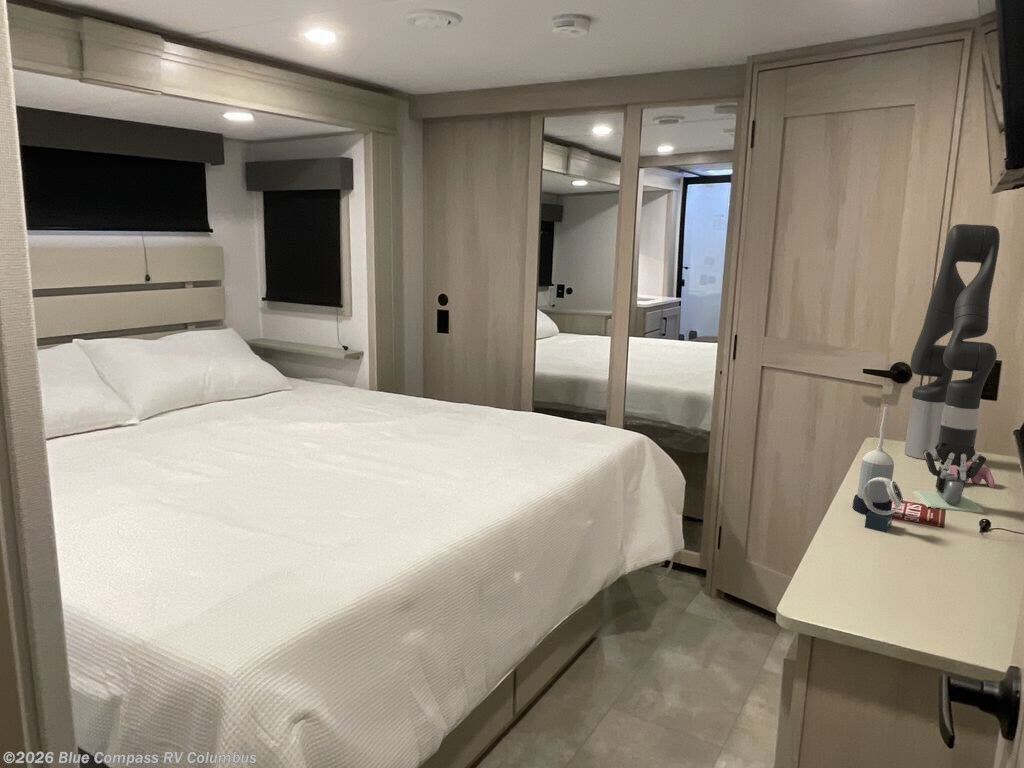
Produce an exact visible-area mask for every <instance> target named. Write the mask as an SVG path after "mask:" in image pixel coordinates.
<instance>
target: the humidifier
mask: <svg viewBox="0 0 1024 768" xmlns="http://www.w3.org/2000/svg"><path fill="white" fill-rule="evenodd" d="M888 408H889V407H886V406H883V412H882V418H881V419H882V420H881V423H880V424H881V425H880V427H879V441H878V444H877V447H876V449H875V448H873V450H871V451H869V452H866V453H865V454H864V455H863V457H862V460H861V464H860V471H859V478H858V479H859V480H858V487H857V494H854V497H853V499H852V509H853V511H855V512H856V513H859V514H860V515H864V516H866V514H867V513H868V511H869V510H870V509H868V508H867V506H866V504H865V502H864V499H863V496H862V492H863V488H864V486H865V485H866V484H867V483H868V482H869V481H870V480H871V479H873V478H877V477H884V478H888V479H890V480H891V481H893V477H894V476H893V474H894V466H895V465H894V464H895V463H894V462H895V461H894V459H893V457H892V456H891V455H890V454H889V453H888V452H886V451H884V449H883V445H884V442H885V441H884V440H885V427H886V423H887V416H888ZM877 410H878V411H877V413H879V411H880V407H878V409H877ZM878 418H879V415H877V417H876V426H875V427H874V430H876V429H877V426H878V423H879V422H878ZM875 440H876V437H874V439H873V443H875ZM867 491H868V494H869V498H870V500H871V502H872V503H873V507H874V508H878V509H882V510H887V511H891V510H893V509H892V507H893V504H892V503H893V501H892V500H891V498H890V497H889V494H888V491H887V486H886V485H885V482H883V481H874V482H871V483H869V484H868V485H867Z"/></svg>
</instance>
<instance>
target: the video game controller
mask: <svg viewBox="0 0 1024 768" xmlns="http://www.w3.org/2000/svg"><path fill="white" fill-rule="evenodd" d="M972 462H973V461H968V462H967V463H966V469H968V468H969V466H970V465H971V464H972ZM966 471H967V470H966ZM949 473H952V474H954V475H955V476H956V477H957V469H956V465H952V466H950V468H949ZM969 480H970V482H972V484H975V485H978V484H980V483H981V482H982V480H984V482H985V483H986V485H987V486H988V487H989V488H991V489H992V488H993V489H994V487H995V483H996V482H995V479H994V476H993V474H992V472H991V470H990V468H989V467H988V466H986V464H985V463H984V464H983V466H982V467H981V468H980V470H979V471H978V473H977V474H976V476H975V477H974V478H972V479H971V478H969V479H966V480H965V483H968V482H969ZM965 483H964V484H965Z"/></svg>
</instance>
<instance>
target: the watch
mask: <svg viewBox="0 0 1024 768" xmlns="http://www.w3.org/2000/svg"><path fill="white" fill-rule="evenodd" d="M874 481H883V482H885V485H886V486H887V491H888V494H889V497H890V498H889V499H890V500H891V502H892V503H893V504H894V506H895V508H894V509H891V511H887V510H882V509H878V508H874V507H873V503H872V502H871V500H870V498H869V494H868V491H867V485H868V484H869V483H871V482H874ZM862 496H863V499H864V502H865V504H866V506H867V508H868V509H870V510H869V511H868V513H867V514H866V515H865V521H864V522H865V523H864V528H866V529H869V530H874V531H879V532H881V533H882V532H883V533H887V531H888V530H889V529H890V527H891V526H892V523H893V522H892V521H893V516H894V514H895V512H896V511H897V510H898V509H899V508H900V506H901V504H902V503H903V502H904V498H903V494H902V491H901V488H900V487H899V485H898V483H896V481H893V480H892V481H891V480H890V479H888V478H884V477H877V478H873V479H871V480H870V481H869V482H868V483H867V484H866V485H865V486H864V488H863V492H862Z"/></svg>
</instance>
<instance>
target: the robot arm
mask: <svg viewBox="0 0 1024 768" xmlns="http://www.w3.org/2000/svg"><path fill="white" fill-rule="evenodd" d="M1000 238H1001V237H1000V230H999V229H998V227H997V226H995V225H988V224H970V223H969V224H968V223H967V224H966V223H965V224H964V223H962V224H960V223H959V224H954V225H953V226H952V227H951V228H950V230H949V232H948V234H947V237H946V241H945V246H944V250H943V254H942V260H941V262H940V269H939V272H938V275H937V279H936V282H935V286H934V288H933V291H932V294H931V296H930V300H929V303H928V306H927V310H926V314H925V318H924V322H923V325H922V329H921V331H920V334H919V335H918V338H917V341H916V343H915V346H914V349H913V351H912V353H911V357H910V358H911V359H910V369H911V372H912V373H913V375H917V376H923V377H924V376H925V377H933V378H936V379H935V380H934V381H932V382H930V383H927V384H924V385H919V386H918V385H917V386H916V387H914V388H913V390H912V392H911V393H912V395H911V400H910V401H911V402H910V409H909V418H908V423H907V424H908V425H907V432H906V437H905V444H904V445H905V446H904V451H903V453H904V455H906V456H909V457H911V458H914V459H915V458H916V459H920V460H925V463H926V465H927V468H928V471H929V472H930V473H931V474H932V476H935V477H936V476H937V481H935V482H936V483H935V489H936V491H937V490H938V491H939V492H940V493H943V492H944V485H945V477H946V474H947V473H948V471H950V467H951V466H952V465H956V469H957V478H959V479H960V480H961V481H962V482H963V483H964V484H963V490H962V493H963V492H964V487H965V480H966V479H969V480H971V479H972V478H974V477H975V476H976V474H977V473H978V471H979V470H980V468H981V467H982V466H983V464H985V463H986V461H987V457H985V456H984V455H983V454H981V453H980V454H979V453H977V452H976V450H975V444H976V440H977V439H976V438H977V431H978V427H979V421H980V420H979V419H980V404H981V398H982V393H983V389H984V385H985V383H986V381H987V379H988V377H989V375H990V373H991V371H992V369H993V368H994V367H995V363H996V361H997V357H998V355H997V354H998V353H997V350H996V348H995V346H994V345H993V344H991V343H989V342H985V341H984V342H981V341H967V340H969V339H975V338H980V337H982V336H984V335H986V334H987V333H988V329H989V311H990V296H991V291H992V287H993V283H994V277H995V271H996V268H997V267H996V266H997V261H998V255H999V249H1000V242H1001V241H1000ZM958 262H960V263H961V262H962V263H978V264H979V263H980V267H979V269H978V272H977V274H976V275H975V276H974V277H973V279H972V280H971V281H970V282H969V283H968V284H967V285H966V284H965V282H964V281H963V279H962V276H961V275H960V273H959V270H958V267H957V263H958ZM950 332H951V335H950V337H949V340H948V342H947V344H946V345H942V344H936V342H938V341H939V340H940V339H941V338H943V337H945V336H946V335H948V334H949V333H950ZM954 371H961V372H970V373H973V372H974V373H973V374H972V375H971V377H969V378H965V379H956V380H952V379H953V375H954V374H953V373H954ZM938 459H940V460H939V462H938V467H937V465H936V463H935V461H934V460H938ZM971 459H972V460H971ZM970 461H971V462H972V464H971V465H970V466H969V468H968V469H966V463H967V462H970ZM966 470H967V471H966Z"/></svg>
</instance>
